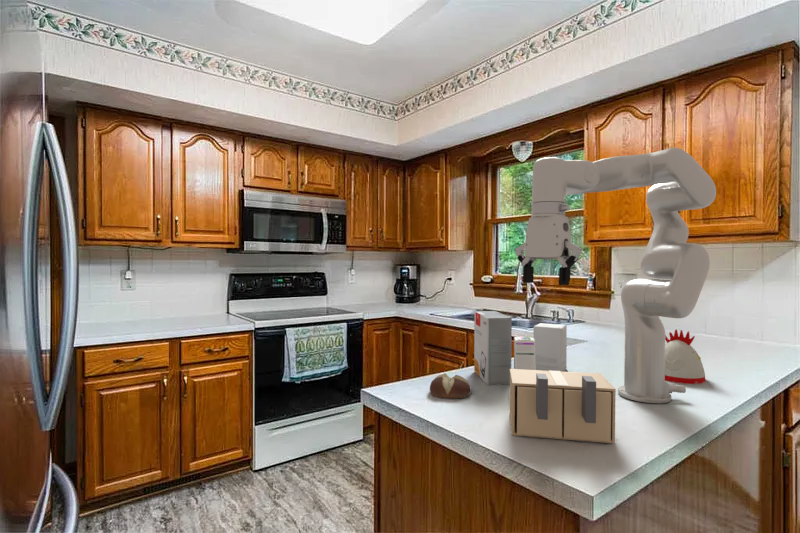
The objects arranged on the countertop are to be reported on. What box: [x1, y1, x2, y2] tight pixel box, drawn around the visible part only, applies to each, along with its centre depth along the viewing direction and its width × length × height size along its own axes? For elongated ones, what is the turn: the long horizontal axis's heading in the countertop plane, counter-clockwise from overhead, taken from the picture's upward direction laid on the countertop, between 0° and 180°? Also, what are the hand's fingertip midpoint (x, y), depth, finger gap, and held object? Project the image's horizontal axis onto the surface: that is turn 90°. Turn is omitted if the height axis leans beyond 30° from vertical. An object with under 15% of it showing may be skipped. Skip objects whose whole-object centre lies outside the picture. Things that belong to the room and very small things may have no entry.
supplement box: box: [533, 322, 568, 372], centre depth 145 cm, size 9×9×15 cm
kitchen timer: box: [665, 329, 706, 385], centre depth 137 cm, size 14×14×15 cm
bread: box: [429, 372, 472, 400], centre depth 120 cm, size 11×11×5 cm
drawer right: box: [564, 376, 611, 442], centre depth 86 cm, size 9×4×13 cm, turn 78°
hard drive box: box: [473, 310, 513, 386], centre depth 135 cm, size 16×8×20 cm, turn 5°
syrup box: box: [513, 336, 536, 370], centre depth 124 cm, size 6×6×14 cm
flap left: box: [517, 373, 562, 438], centre depth 88 cm, size 9×4×13 cm, turn 78°
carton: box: [509, 368, 617, 444], centre depth 95 cm, size 20×12×11 cm, turn 78°
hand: (545, 283), depth 104 cm, fingers open, 9 cm apart
